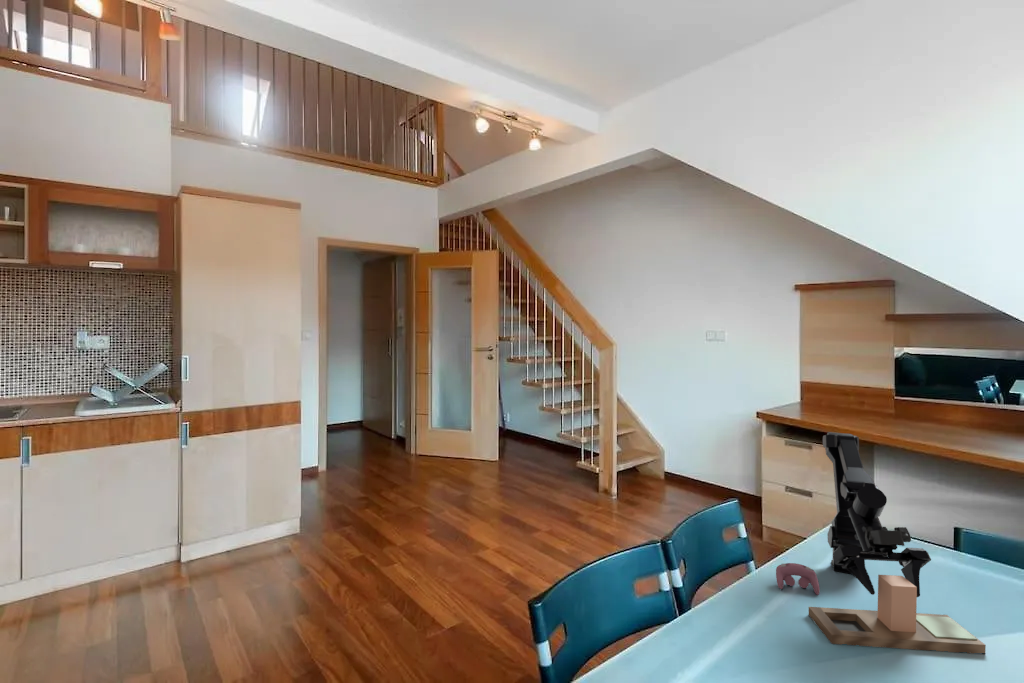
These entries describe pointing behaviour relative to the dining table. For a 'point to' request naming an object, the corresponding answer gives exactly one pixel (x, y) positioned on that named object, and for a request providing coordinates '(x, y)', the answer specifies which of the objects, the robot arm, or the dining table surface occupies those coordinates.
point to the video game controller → (799, 570)
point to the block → (897, 603)
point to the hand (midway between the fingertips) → (895, 595)
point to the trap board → (872, 632)
